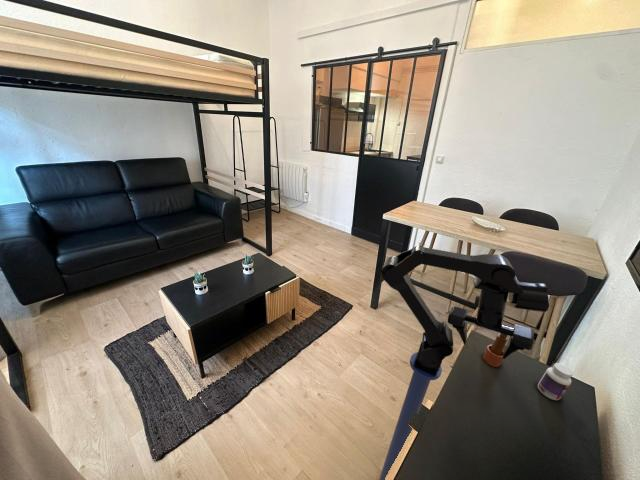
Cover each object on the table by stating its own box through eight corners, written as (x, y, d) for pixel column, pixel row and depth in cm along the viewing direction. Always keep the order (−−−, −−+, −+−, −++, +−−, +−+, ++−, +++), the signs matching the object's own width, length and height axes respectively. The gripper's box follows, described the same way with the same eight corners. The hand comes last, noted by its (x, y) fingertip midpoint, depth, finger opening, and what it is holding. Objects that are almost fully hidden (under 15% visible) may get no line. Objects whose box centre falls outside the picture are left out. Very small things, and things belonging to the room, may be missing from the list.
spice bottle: (492, 363, 82) (506, 333, 77) (485, 356, 84) (498, 327, 79) (498, 362, 83) (513, 332, 78) (491, 355, 85) (505, 326, 80)
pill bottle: (561, 404, 71) (577, 381, 67) (537, 393, 74) (552, 369, 70) (559, 391, 75) (574, 367, 71) (536, 380, 78) (550, 357, 74)
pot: (482, 362, 83) (487, 352, 81) (482, 352, 87) (487, 342, 85) (500, 369, 81) (505, 359, 79) (499, 358, 85) (504, 349, 83)
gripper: (539, 299, 65) (527, 346, 71) (459, 280, 77) (454, 322, 82) (539, 322, 57) (525, 374, 63) (449, 298, 69) (444, 343, 74)
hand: (483, 350), depth 71 cm, fingers open, 9 cm apart
